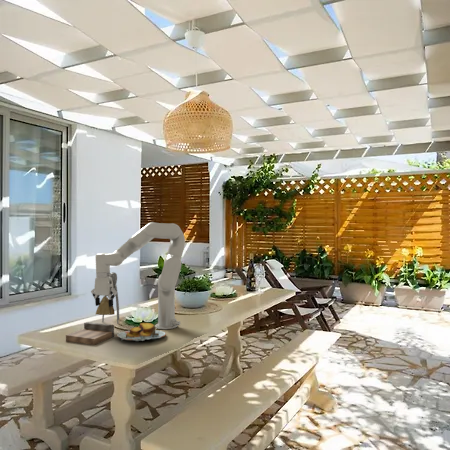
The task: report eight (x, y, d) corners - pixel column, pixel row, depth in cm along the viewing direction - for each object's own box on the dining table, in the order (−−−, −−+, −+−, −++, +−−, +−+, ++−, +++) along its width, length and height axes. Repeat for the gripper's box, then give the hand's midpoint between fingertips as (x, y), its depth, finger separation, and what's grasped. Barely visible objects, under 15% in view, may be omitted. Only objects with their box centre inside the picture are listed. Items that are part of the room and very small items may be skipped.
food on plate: (106, 340, 222) (106, 327, 222) (141, 329, 243) (141, 318, 242) (141, 348, 208) (141, 335, 208) (175, 336, 228) (175, 324, 228)
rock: (120, 310, 241) (113, 304, 249) (111, 299, 237) (104, 294, 245) (105, 323, 236) (98, 318, 244) (95, 313, 232) (89, 308, 240)
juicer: (118, 323, 254) (117, 273, 254) (102, 322, 258) (101, 272, 257) (126, 319, 264) (126, 271, 263) (111, 318, 267) (111, 270, 267)
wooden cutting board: (114, 336, 228) (114, 325, 227) (94, 344, 213) (94, 332, 213) (86, 333, 234) (86, 322, 234) (65, 341, 219) (65, 329, 219)
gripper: (120, 274, 241) (121, 305, 241) (94, 273, 247) (96, 303, 248) (111, 276, 234) (113, 308, 234) (86, 275, 240) (87, 306, 241)
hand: (104, 305), depth 241 cm, fingers closed on rock, 8 cm apart
